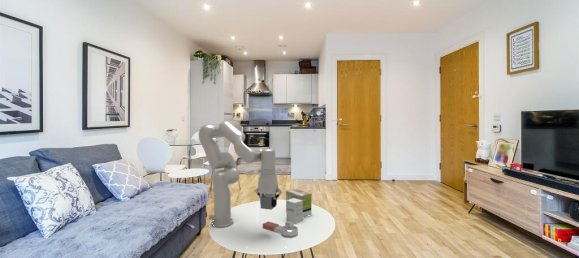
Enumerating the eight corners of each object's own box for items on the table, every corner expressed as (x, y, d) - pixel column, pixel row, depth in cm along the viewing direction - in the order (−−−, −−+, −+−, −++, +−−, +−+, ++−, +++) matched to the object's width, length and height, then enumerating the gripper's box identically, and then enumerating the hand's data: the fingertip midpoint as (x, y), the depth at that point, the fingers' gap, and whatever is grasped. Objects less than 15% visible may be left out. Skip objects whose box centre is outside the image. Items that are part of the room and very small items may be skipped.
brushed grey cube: (260, 208, 138) (260, 197, 138) (265, 205, 144) (265, 194, 143) (271, 209, 136) (271, 198, 135) (276, 206, 141) (276, 195, 141)
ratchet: (301, 233, 142) (301, 221, 142) (291, 239, 135) (291, 226, 135) (270, 224, 155) (270, 213, 155) (260, 229, 148) (260, 217, 147)
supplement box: (285, 220, 160) (286, 200, 160) (294, 217, 166) (294, 197, 166) (294, 223, 155) (294, 202, 155) (303, 220, 161) (303, 200, 160)
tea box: (285, 212, 175) (285, 190, 175) (297, 209, 181) (297, 188, 181) (300, 219, 163) (300, 195, 163) (312, 215, 169) (312, 192, 169)
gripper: (250, 172, 139) (250, 206, 139) (280, 174, 133) (280, 209, 133) (256, 170, 146) (257, 202, 146) (286, 171, 140) (286, 205, 140)
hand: (268, 205), depth 140 cm, fingers closed on brushed grey cube, 6 cm apart
